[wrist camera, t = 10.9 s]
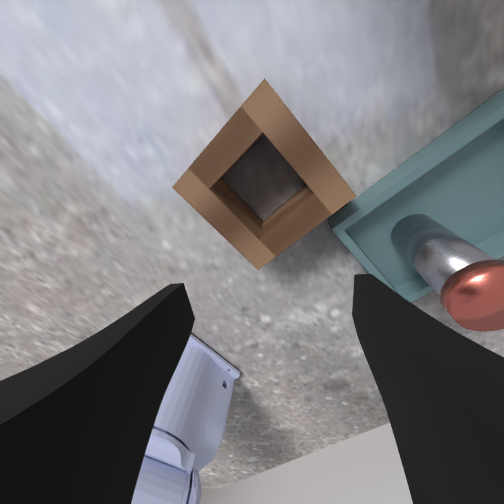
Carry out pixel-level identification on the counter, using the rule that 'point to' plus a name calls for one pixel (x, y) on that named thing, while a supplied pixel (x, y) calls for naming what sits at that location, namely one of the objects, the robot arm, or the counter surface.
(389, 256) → the tray
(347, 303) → the counter surface
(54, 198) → the counter surface
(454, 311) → the red capped cylinder
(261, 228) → the bore block
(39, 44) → the counter surface
